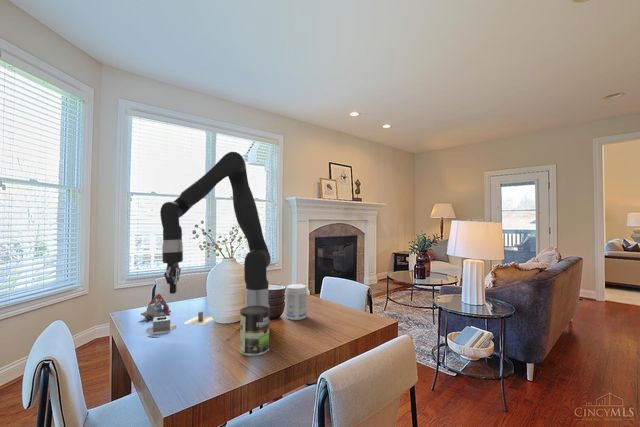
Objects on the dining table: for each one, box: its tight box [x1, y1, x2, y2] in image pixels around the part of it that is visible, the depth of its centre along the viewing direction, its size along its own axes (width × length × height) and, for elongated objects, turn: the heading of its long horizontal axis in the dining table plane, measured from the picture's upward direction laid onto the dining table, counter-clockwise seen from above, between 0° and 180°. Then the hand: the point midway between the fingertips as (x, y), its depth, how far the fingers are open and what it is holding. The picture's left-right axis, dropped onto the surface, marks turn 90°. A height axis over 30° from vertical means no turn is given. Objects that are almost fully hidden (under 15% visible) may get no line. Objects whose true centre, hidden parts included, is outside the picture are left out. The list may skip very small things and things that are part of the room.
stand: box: [183, 311, 215, 326], centre depth 133 cm, size 10×10×5 cm
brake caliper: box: [140, 293, 172, 321], centre depth 138 cm, size 11×11×12 cm
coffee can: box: [239, 306, 271, 357], centre depth 108 cm, size 10×10×14 cm
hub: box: [145, 319, 178, 339], centre depth 122 cm, size 11×11×5 cm
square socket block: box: [152, 315, 171, 332], centre depth 122 cm, size 6×6×4 cm
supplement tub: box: [285, 283, 308, 321], centre depth 143 cm, size 10×10×15 cm
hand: (173, 293), depth 124 cm, fingers closed
